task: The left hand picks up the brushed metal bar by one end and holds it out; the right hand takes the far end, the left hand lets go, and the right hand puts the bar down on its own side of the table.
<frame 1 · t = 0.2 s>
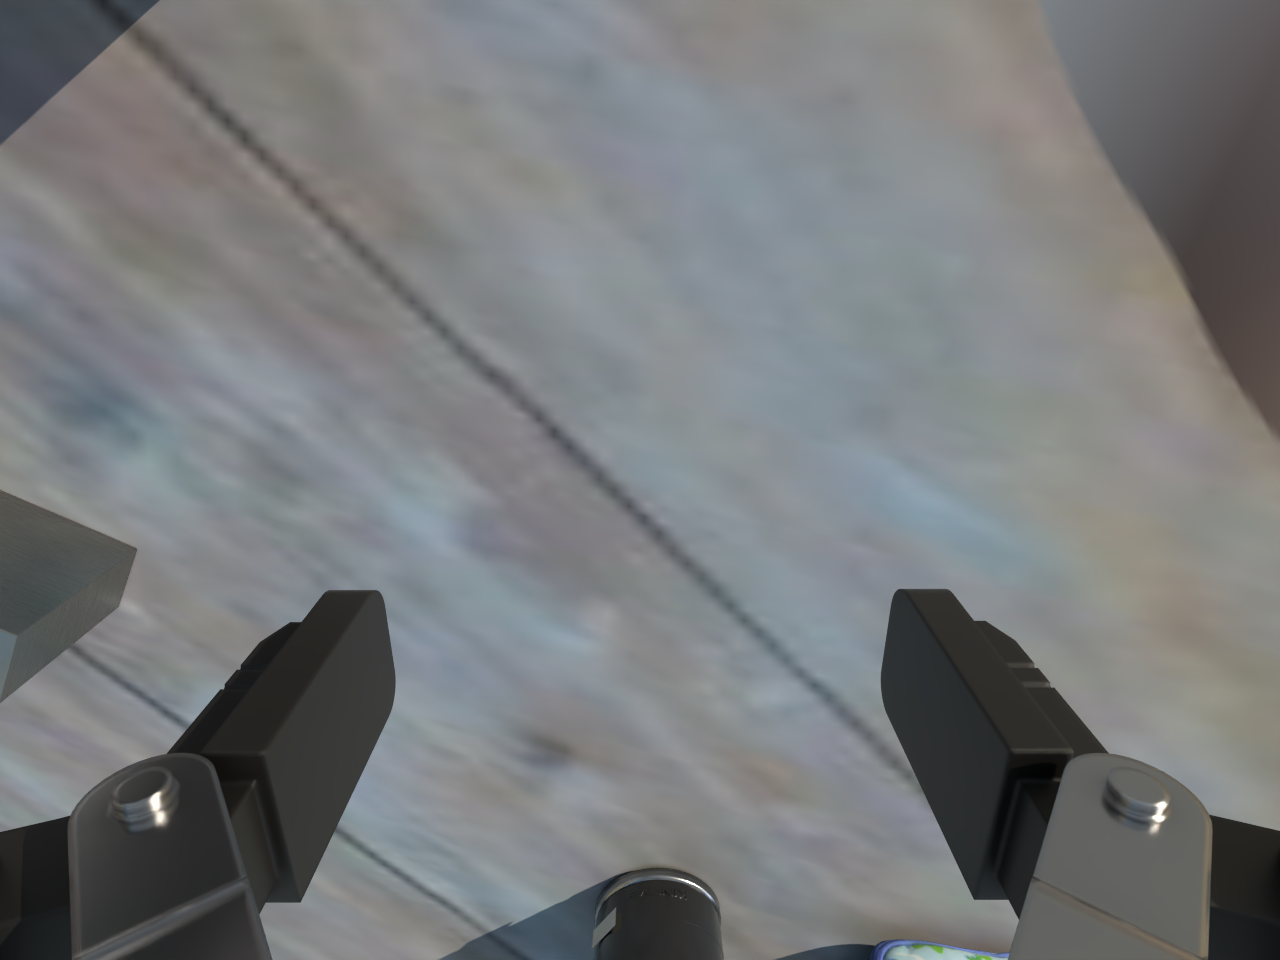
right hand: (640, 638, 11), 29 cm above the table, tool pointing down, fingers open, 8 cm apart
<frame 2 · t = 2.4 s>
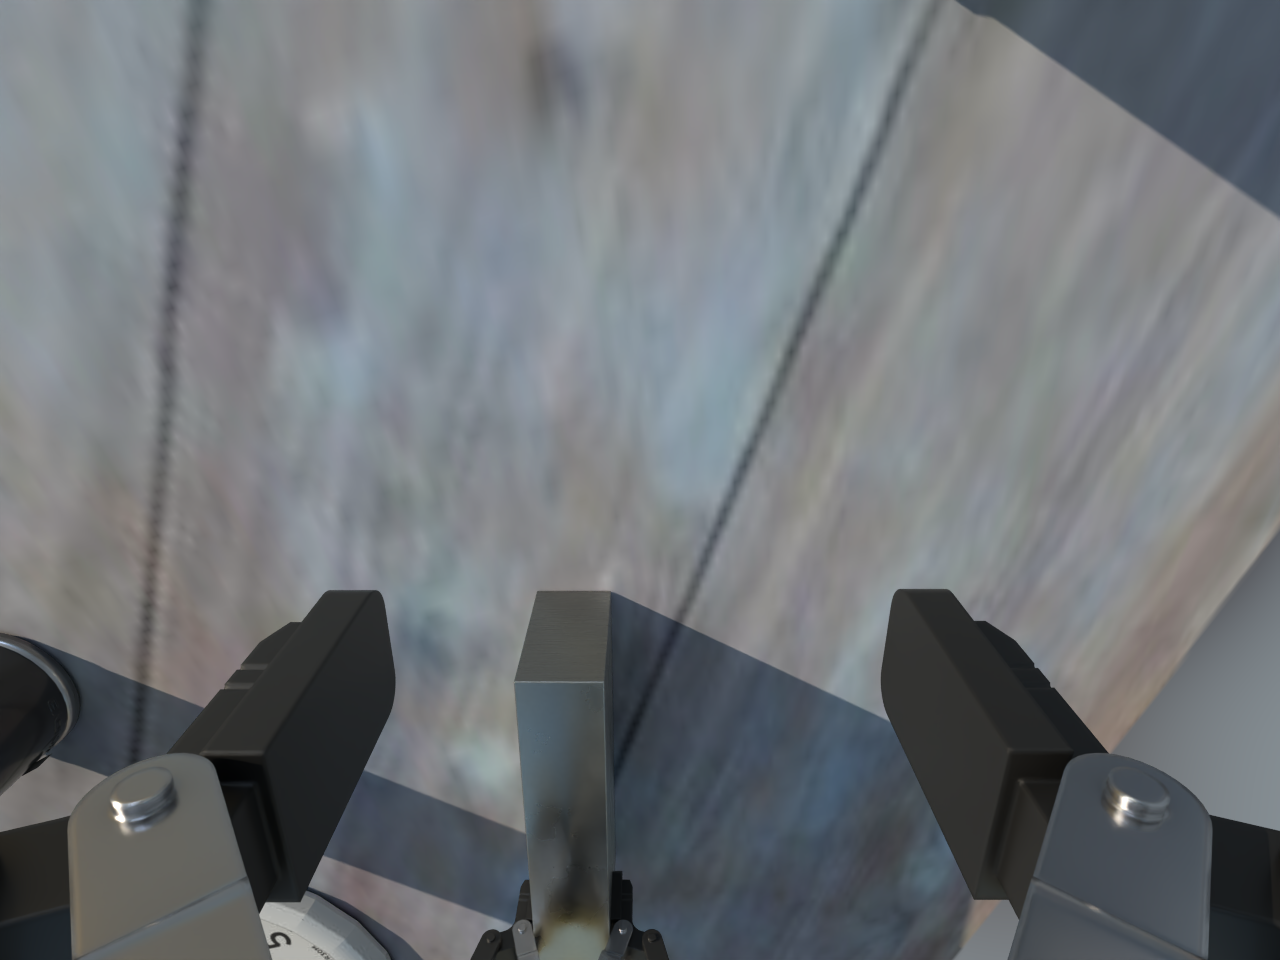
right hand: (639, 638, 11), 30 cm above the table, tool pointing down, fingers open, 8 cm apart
bar: (579, 735, 50), on the table, touching left hand
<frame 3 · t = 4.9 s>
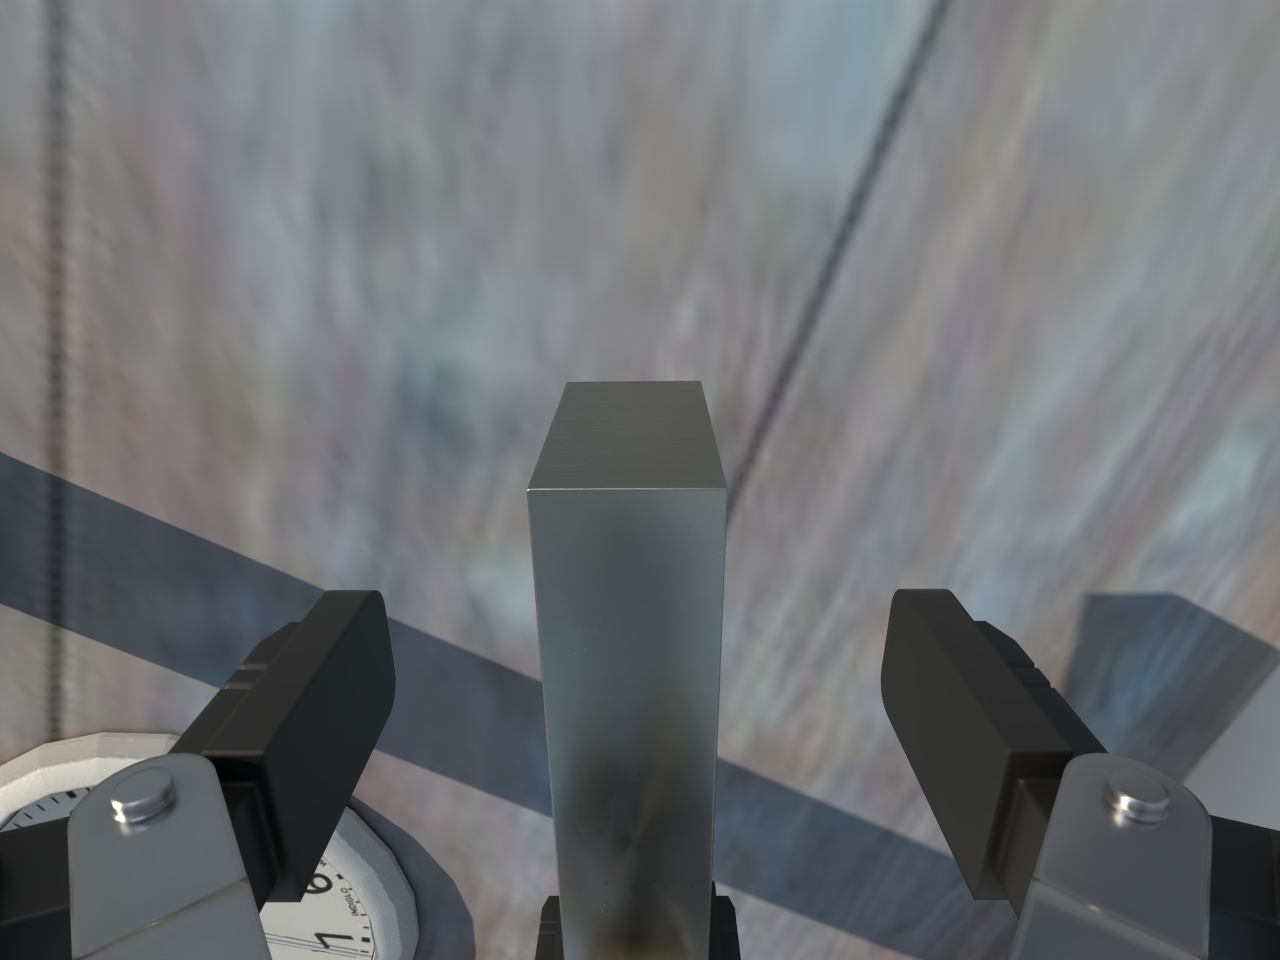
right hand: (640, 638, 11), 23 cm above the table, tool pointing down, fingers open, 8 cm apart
wall clock: (194, 904, 48), on the table
bar: (637, 652, 30), point 8 cm above the table, touching left hand
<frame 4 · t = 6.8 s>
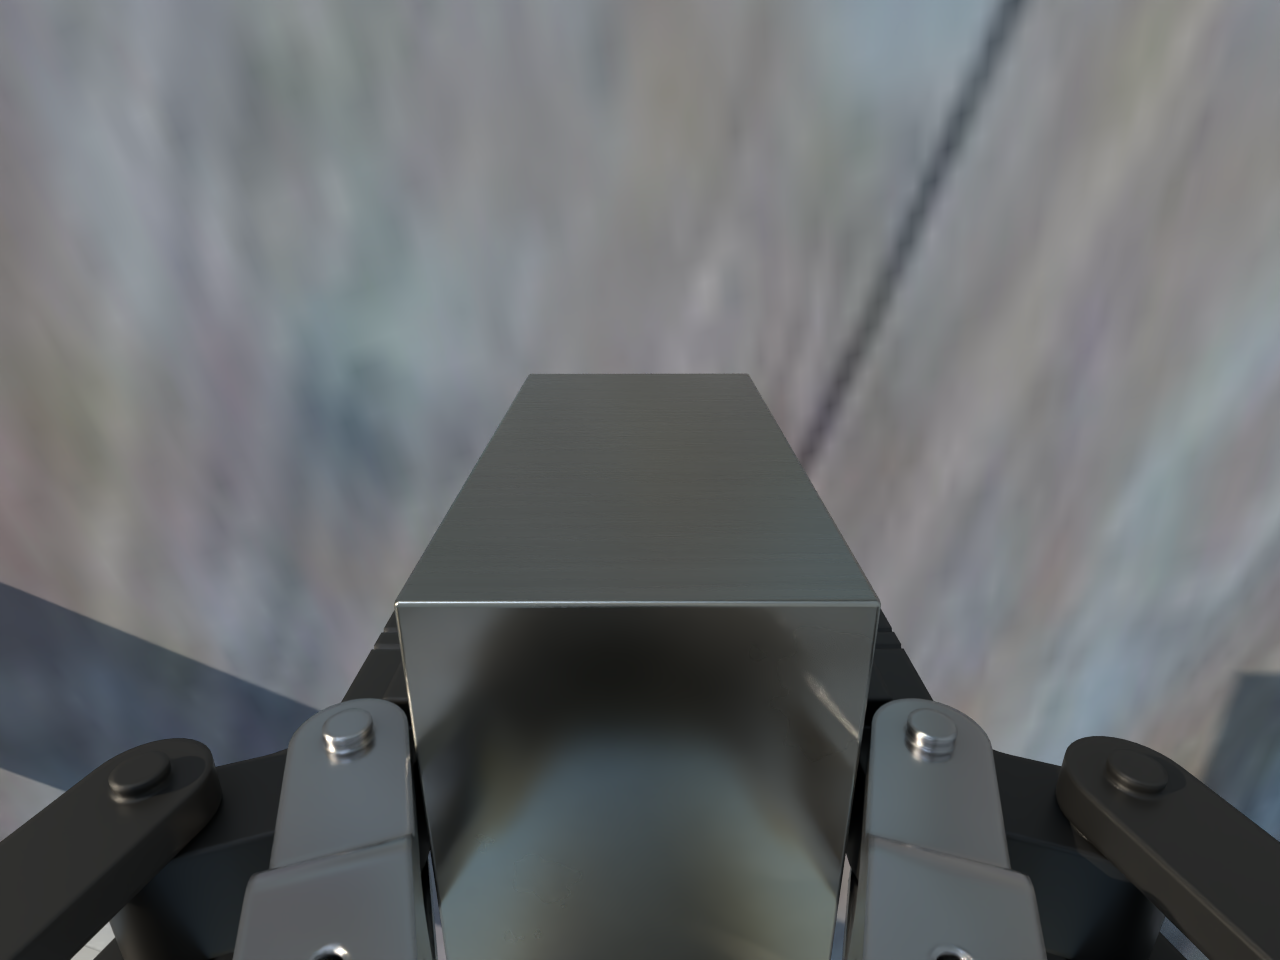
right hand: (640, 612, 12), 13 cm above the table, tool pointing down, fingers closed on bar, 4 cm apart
bar: (639, 789, 20), point 8 cm above the table, touching right hand, left hand
when the left hand's fingers open (13 cm above the table, at t = 7.7 s): bar stays where it is, held by the right hand.
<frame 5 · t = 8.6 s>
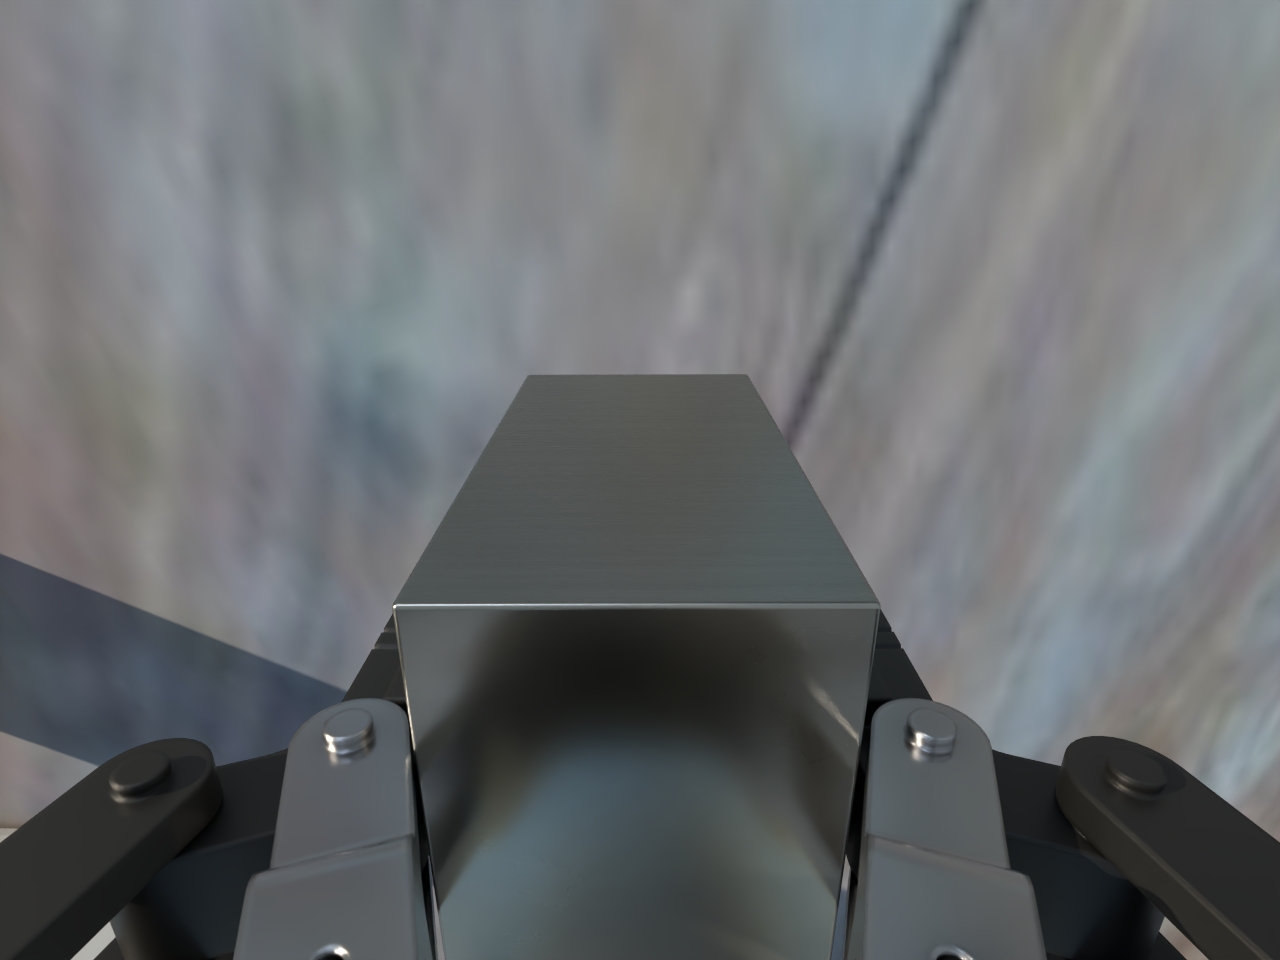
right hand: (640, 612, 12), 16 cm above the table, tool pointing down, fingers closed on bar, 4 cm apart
bar: (639, 790, 20), point 11 cm above the table, touching right hand
when the right hand's fingers open (6 cm above the table, at t = 11.2 s): bar drops 1 cm, on the table.
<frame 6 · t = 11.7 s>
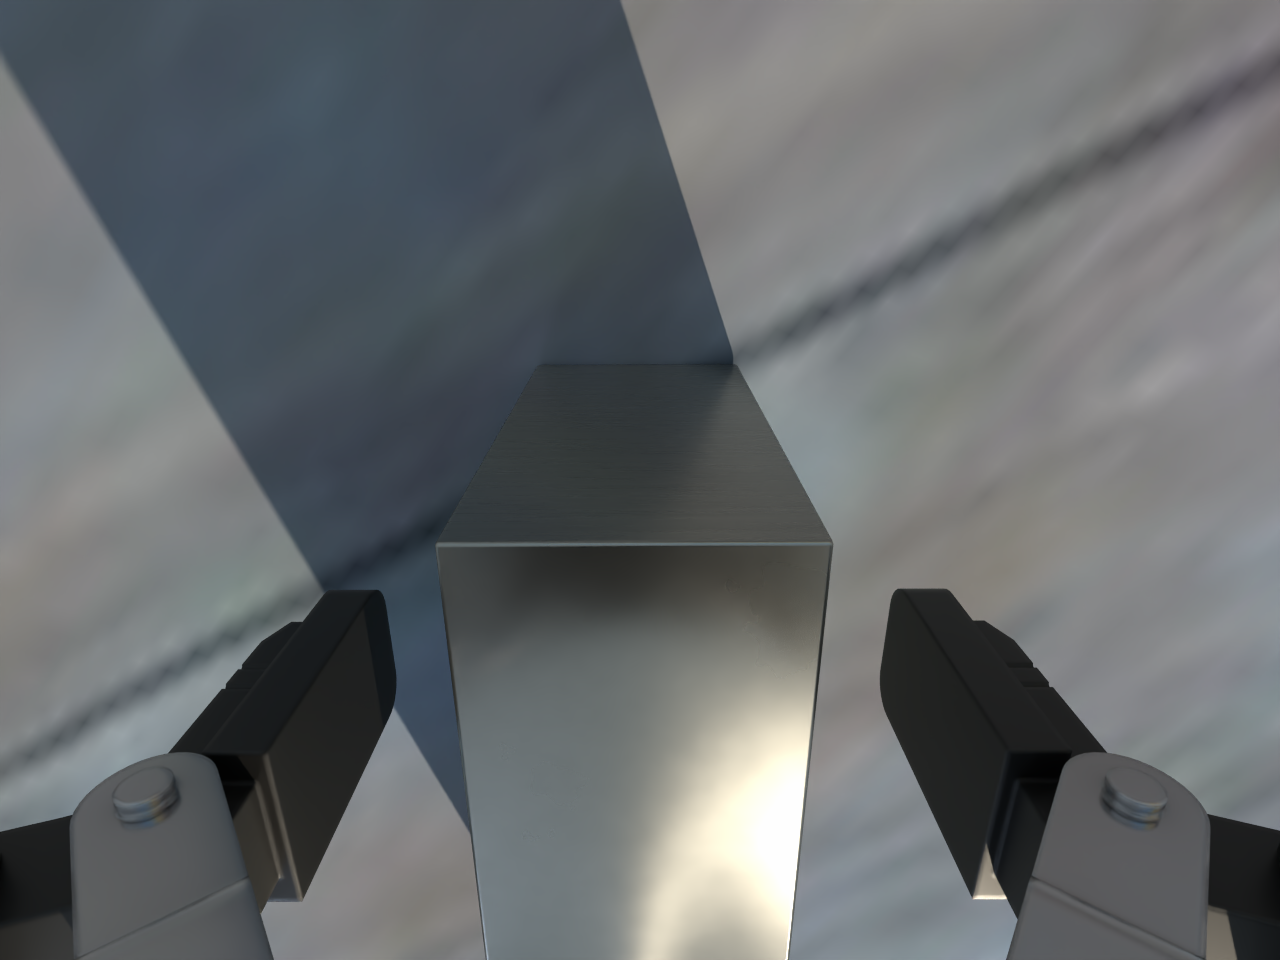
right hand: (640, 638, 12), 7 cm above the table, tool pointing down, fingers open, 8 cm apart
bar: (639, 751, 21), on the table
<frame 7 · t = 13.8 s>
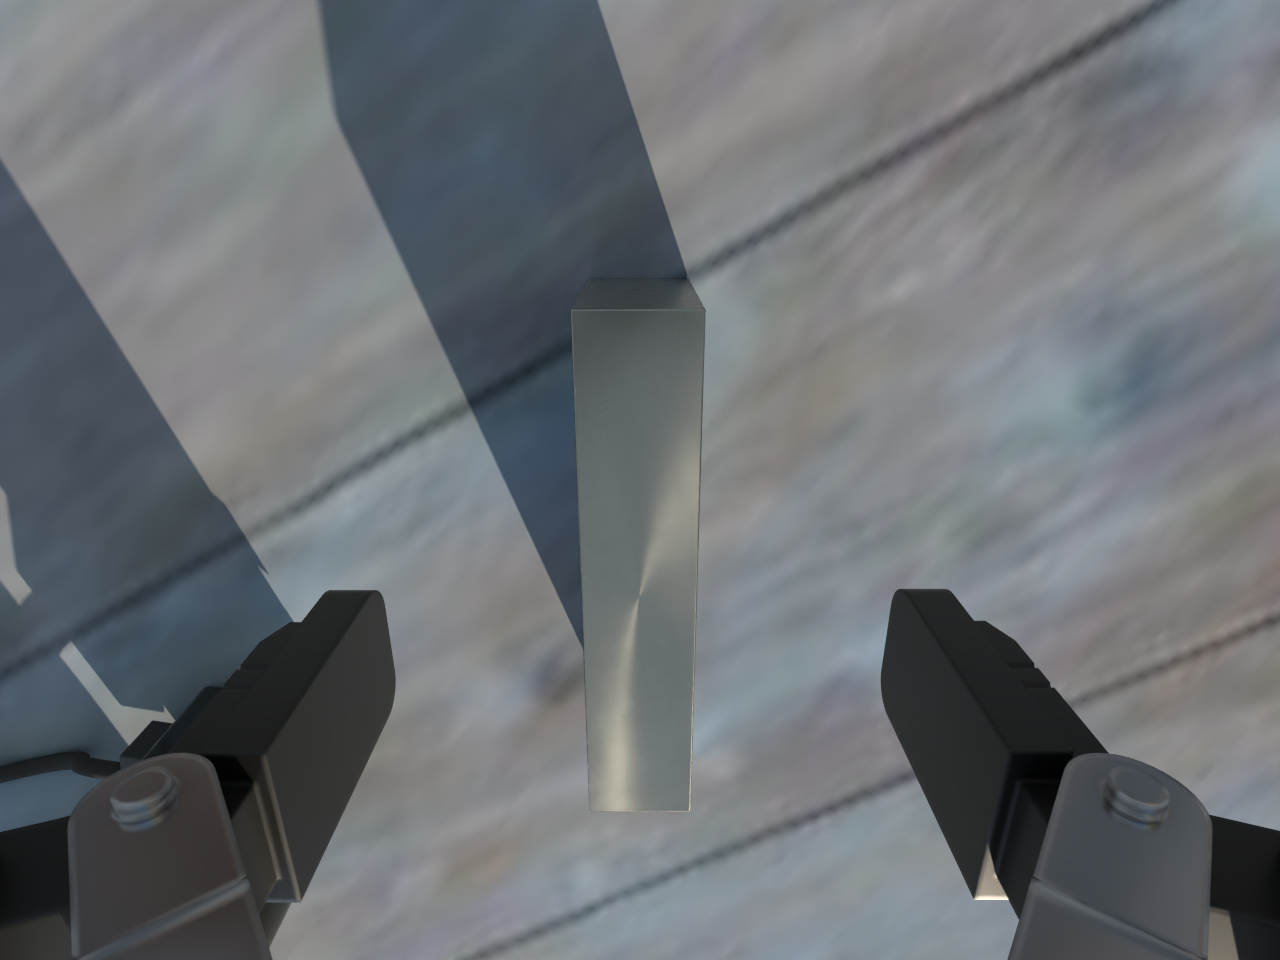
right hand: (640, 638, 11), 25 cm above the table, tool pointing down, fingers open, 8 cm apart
bar: (639, 505, 38), on the table
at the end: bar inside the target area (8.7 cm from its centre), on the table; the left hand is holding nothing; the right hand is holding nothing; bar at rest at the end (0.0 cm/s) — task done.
